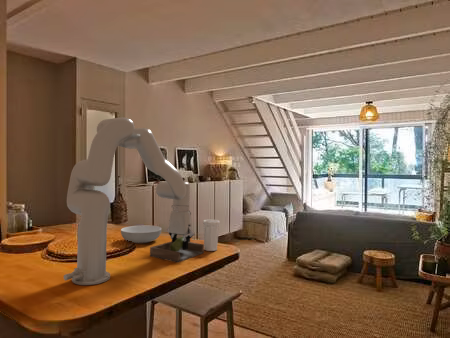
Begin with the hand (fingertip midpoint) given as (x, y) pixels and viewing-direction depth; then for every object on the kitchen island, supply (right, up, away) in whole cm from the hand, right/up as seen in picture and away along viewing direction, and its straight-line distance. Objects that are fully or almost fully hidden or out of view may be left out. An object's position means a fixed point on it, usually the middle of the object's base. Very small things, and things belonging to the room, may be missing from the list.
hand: (179, 247), depth 152 cm
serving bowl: (-24, -3, +24) cm, 34 cm away
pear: (0, -1, -1) cm, 1 cm away
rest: (-1, -3, +1) cm, 3 cm away
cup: (+14, -4, +11) cm, 18 cm away
